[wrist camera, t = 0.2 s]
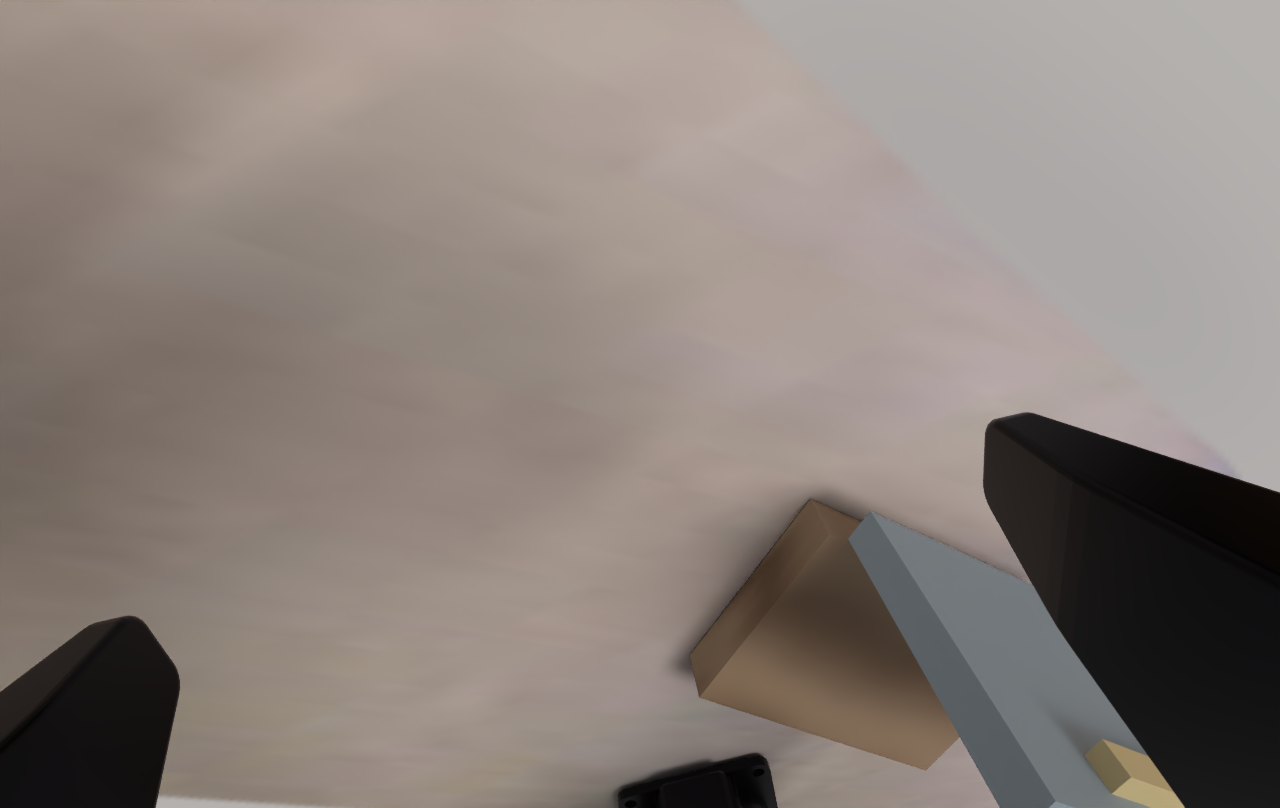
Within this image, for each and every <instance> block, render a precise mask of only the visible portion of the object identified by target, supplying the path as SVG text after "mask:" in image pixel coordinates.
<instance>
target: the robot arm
mask: <svg viewBox="0 0 1280 808" xmlns="http://www.w3.org/2000/svg"><path fill="white" fill-rule="evenodd" d="M983 488H984V493H985V497H986V500H987V503H988V505H989V507H990V509H991V511H992V513H993V514H994V516H995V518H996V520H997V522H998V523H999V525H1000V527H1001V529H1002V531H1003V532H1004V534H1005V536H1006V538H1007V540H1008V541H1009V543H1010V545H1011V547H1012V549H1013V550H1014V552H1015V554H1016V556H1017V558H1018V559H1019V561H1020V563H1021V565H1022V567H1023V568H1024V570H1025V572H1026V574H1027V576H1028V577H1029V579H1030V581H1031V583H1032V585H1033V586H1034V588H1035V590H1036V592H1037V594H1038V595H1039V597H1040V599H1041V601H1042V603H1043V604H1044V606H1045V608H1046V609H1047V611H1048V613H1049V615H1050V616H1051V618H1052V620H1053V621H1054V623H1055V625H1056V626H1057V628H1058V629H1059V631H1060V632H1061V634H1062V635H1063V637H1064V638H1065V640H1066V641H1067V643H1068V644H1069V646H1070V647H1071V648H1072V650H1073V651H1074V653H1075V654H1076V655H1077V657H1078V658H1079V660H1080V661H1081V662H1082V664H1083V665H1084V667H1085V668H1086V669H1087V671H1088V672H1089V674H1090V675H1091V677H1092V678H1093V679H1094V681H1095V682H1096V684H1097V685H1098V686H1099V688H1100V689H1101V691H1102V692H1103V693H1104V695H1105V696H1106V698H1107V699H1108V700H1109V702H1110V703H1111V705H1112V706H1113V707H1114V709H1115V710H1116V712H1117V713H1118V714H1119V716H1120V717H1121V719H1122V720H1123V721H1124V723H1125V724H1126V726H1127V727H1128V728H1129V730H1130V731H1131V733H1132V734H1133V736H1134V737H1135V738H1136V740H1137V741H1138V743H1139V744H1140V745H1141V747H1142V748H1143V750H1144V751H1145V752H1146V754H1147V755H1148V757H1149V758H1150V759H1151V761H1152V762H1153V764H1154V765H1155V766H1156V768H1157V769H1158V771H1159V772H1160V773H1161V775H1162V776H1163V778H1164V779H1165V780H1166V782H1167V783H1168V785H1169V786H1170V787H1171V789H1172V790H1173V792H1174V793H1175V794H1176V796H1177V797H1178V799H1179V800H1180V802H1181V803H1182V804H1183V806H1184V807H1185V808H1280V492H1276V491H1273V490H1270V489H1267V488H1264V487H1261V486H1258V485H1254V484H1252V483H1248V482H1245V481H1242V480H1239V479H1236V478H1233V477H1230V476H1227V475H1224V474H1220V473H1217V472H1214V471H1211V470H1208V469H1205V468H1202V467H1199V466H1196V465H1193V464H1189V463H1186V462H1183V461H1180V460H1177V459H1174V458H1171V457H1168V456H1165V455H1161V454H1158V453H1155V452H1152V451H1149V450H1146V449H1143V448H1140V447H1137V446H1134V445H1130V444H1127V443H1124V442H1121V441H1118V440H1115V439H1112V438H1109V437H1106V436H1102V435H1099V434H1096V433H1093V432H1090V431H1087V430H1084V429H1081V428H1078V427H1074V426H1071V425H1068V424H1065V423H1062V422H1059V421H1056V420H1053V419H1050V418H1047V417H1043V416H1040V415H1037V414H1034V413H1029V412H1025V413H1020V414H1015V415H1011V416H1006V417H1002V418H998V419H994V420H992V421H991V422H990V423H989V424H988V426H987V428H986V432H985V447H984V472H983ZM179 691H180V679H179V674H178V671H177V668H176V666H175V665H174V663H173V662H172V660H171V659H170V658H169V656H168V655H167V653H166V652H165V650H164V649H163V648H162V646H161V645H160V643H159V642H158V641H157V639H156V638H155V636H154V635H153V633H152V632H151V631H150V629H149V628H148V626H147V625H146V624H145V623H144V622H143V621H142V620H141V619H139V618H137V617H135V616H123V617H119V618H114V619H110V620H105V621H101V622H97V623H94V624H92V625H89V626H88V627H86V628H84V629H83V630H82V631H80V632H79V633H78V634H76V635H75V636H74V637H73V638H71V639H70V640H69V641H67V642H66V643H65V644H63V645H62V646H61V647H59V648H58V649H57V650H55V651H54V652H53V653H51V654H50V655H49V656H47V657H46V658H45V659H43V660H42V661H41V662H39V663H38V664H37V665H35V666H34V667H33V668H31V669H30V670H29V671H27V672H26V673H25V674H23V675H22V676H21V677H19V678H18V679H17V680H16V681H14V682H13V683H12V684H10V685H9V686H8V687H6V688H5V689H4V690H2V691H1V692H0V808H155V807H156V802H157V798H158V793H159V789H160V784H161V779H162V774H163V769H164V765H165V760H166V755H167V750H168V745H169V740H170V736H171V731H172V726H173V721H174V716H175V712H176V707H177V702H178V697H179ZM618 802H619V808H778V807H777V802H776V797H775V792H774V787H773V782H772V776H771V771H770V768H769V764H768V761H767V759H766V758H764V757H760V756H757V757H752V758H748V759H744V760H740V761H736V762H732V763H728V764H723V765H719V766H715V767H711V768H707V769H703V770H699V771H695V772H691V773H687V774H683V775H679V776H675V777H671V778H667V779H663V780H659V781H655V782H651V783H647V784H642V785H638V786H634V787H630V788H627V789H624V790H622V791H621V792H620V793H619V795H618Z"/></svg>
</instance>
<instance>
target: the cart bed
mask: <svg viewBox="0 0 1280 808" xmlns="http://www.w3.org/2000/svg"><path fill="white" fill-rule="evenodd" d="M860 523H861V521H859V520H856V519H854V518H852V517H850V516H847V515H845V514H843V513H841V512H839V511H836V510H834V509H832V508H830V507H827V506H825V505H823V504H821V503H818V502H816V501H814V500H812V499H810V500H809V501H808V503H807V504H806V505H805V506H804V508H803V509H802V510H801V512H800V513H799V514H798V516H797V517H796V518H795V519H794V521H793V522H792V523H791V525H790V526H789V527H788V529H787V530H786V531H785V532H784V534H783V535H782V536H781V538H780V539H779V540H778V541H777V543H776V544H775V545H774V547H773V548H772V549H771V551H770V552H769V553H768V554H767V556H766V557H765V558H764V560H763V561H762V562H761V564H760V565H759V566H758V567H757V569H756V570H755V571H754V573H753V574H752V575H751V577H750V578H749V579H748V580H747V582H746V583H745V584H744V586H743V587H742V588H741V589H740V591H739V592H738V593H737V595H736V596H735V597H734V599H733V600H732V601H731V602H730V604H729V605H728V606H727V608H726V609H725V610H724V612H723V613H722V614H721V615H720V617H719V618H718V619H717V621H716V622H715V623H714V625H713V626H712V627H711V628H710V630H709V631H708V632H707V634H706V635H705V636H704V638H703V639H702V640H701V641H700V643H699V644H698V645H697V647H696V648H695V649H694V650H693V652H692V653H691V654H690V660H691V664H692V668H693V672H694V677H695V681H696V685H697V689H698V694H699V697H700V698H703V699H706V700H709V701H712V702H715V703H718V704H721V705H724V706H728V707H731V708H734V709H737V710H740V711H743V712H746V713H749V714H752V715H755V716H759V717H762V718H765V719H768V720H771V721H774V722H777V723H780V724H783V725H786V726H790V727H793V728H796V729H799V730H802V731H805V732H808V733H811V734H814V735H817V736H821V737H824V738H827V739H830V740H833V741H836V742H839V743H842V744H845V745H848V746H852V747H855V748H858V749H861V750H864V751H867V752H870V753H873V754H876V755H879V756H883V757H886V758H889V759H892V760H895V761H898V762H901V763H904V764H907V765H910V766H914V767H917V768H920V769H923V770H927V769H928V768H929V767H930V766H931V765H932V764H933V763H934V762H935V761H936V760H937V759H938V758H939V757H940V756H941V755H942V754H943V753H944V752H945V751H946V750H947V749H948V748H949V747H950V746H951V745H952V744H953V743H954V742H955V741H956V740H957V739H958V738H959V737H960V736H959V734H958V733H957V731H956V729H955V727H954V725H953V724H952V722H951V720H950V718H949V717H948V715H947V713H946V711H945V710H944V708H943V706H942V704H941V702H940V701H939V699H938V697H937V695H936V694H935V692H934V690H933V688H932V687H931V685H930V683H929V681H928V680H927V678H926V676H925V674H924V672H923V671H922V669H921V667H920V665H919V664H918V662H917V660H916V658H915V657H914V655H913V653H912V651H911V649H910V648H909V646H908V644H907V642H906V641H905V639H904V637H903V635H902V634H901V632H900V630H899V628H898V626H897V625H896V623H895V621H894V619H893V618H892V616H891V614H890V612H889V611H888V609H887V607H886V605H885V603H884V602H883V600H882V598H881V596H880V595H879V593H878V591H877V589H876V588H875V586H874V584H873V582H872V580H871V579H870V577H869V575H868V573H867V572H866V570H865V568H864V566H863V565H862V563H861V561H860V559H859V558H858V556H857V554H856V552H855V550H854V549H853V547H852V545H851V543H850V542H849V540H848V538H849V537H850V536H851V534H852V533H853V532H854V531H855V529H856V528H857V527H858V526H859V525H860Z"/></svg>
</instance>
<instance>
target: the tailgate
mask: <svg viewBox="0 0 1280 808" xmlns="http://www.w3.org/2000/svg"><path fill="white" fill-rule="evenodd" d="M848 540H849V542H850V543H851V545H852V547H853V549H854V550H855V552H856V554H857V556H858V558H859V559H860V561H861V563H862V565H863V566H864V568H865V570H866V572H867V573H868V575H869V577H870V579H871V580H872V582H873V584H874V586H875V588H876V589H877V591H878V593H879V595H880V596H881V598H882V600H883V602H884V603H885V605H886V607H887V609H888V611H889V612H890V614H891V616H892V618H893V619H894V621H895V623H896V625H897V626H898V628H899V630H900V632H901V634H902V635H903V637H904V639H905V641H906V642H907V644H908V646H909V648H910V649H911V651H912V653H913V655H914V657H915V658H916V660H917V662H918V664H919V665H920V667H921V669H922V671H923V672H924V674H925V676H926V678H927V680H928V681H929V683H930V685H931V687H932V688H933V690H934V692H935V694H936V695H937V697H938V699H939V701H940V702H941V704H942V706H943V708H944V710H945V711H946V713H947V715H948V717H949V718H950V720H951V722H952V724H953V725H954V727H955V729H956V731H957V733H958V734H959V736H960V738H961V740H962V741H963V743H964V745H965V747H966V748H967V750H968V752H969V754H970V756H971V757H972V759H973V761H974V763H975V764H976V766H977V768H978V770H979V771H980V773H981V775H982V777H983V779H984V780H985V782H986V784H987V786H988V787H989V789H990V791H991V793H992V794H993V796H994V798H995V800H996V802H997V803H998V805H999V807H1000V808H1185V807H1184V806H1183V804H1182V803H1181V802H1180V800H1179V799H1178V797H1177V796H1176V794H1175V793H1174V792H1173V790H1172V789H1171V787H1170V786H1169V785H1168V783H1167V782H1166V780H1165V779H1164V778H1163V776H1162V775H1161V773H1160V772H1159V771H1158V769H1157V768H1156V766H1155V765H1154V764H1153V762H1152V761H1151V759H1150V758H1149V757H1148V755H1147V754H1146V752H1145V751H1144V750H1143V748H1142V747H1141V745H1140V744H1139V743H1138V741H1137V740H1136V738H1135V737H1134V736H1133V734H1132V733H1131V731H1130V730H1129V728H1128V727H1127V726H1126V724H1125V723H1124V721H1123V720H1122V719H1121V717H1120V716H1119V714H1118V713H1117V712H1116V710H1115V709H1114V707H1113V706H1112V705H1111V703H1110V702H1109V700H1108V699H1107V698H1106V696H1105V695H1104V693H1103V692H1102V691H1101V689H1100V688H1099V686H1098V685H1097V684H1096V682H1095V681H1094V679H1093V678H1092V677H1091V675H1090V674H1089V672H1088V671H1087V669H1086V668H1085V667H1084V665H1083V664H1082V662H1081V661H1080V660H1079V658H1078V657H1077V655H1076V654H1075V653H1074V651H1073V650H1072V648H1071V647H1070V646H1069V644H1068V643H1067V641H1066V640H1065V638H1064V637H1063V635H1062V634H1061V632H1060V631H1059V629H1058V628H1057V626H1056V625H1055V623H1054V621H1053V620H1052V618H1051V616H1050V615H1049V613H1048V611H1047V609H1046V608H1045V606H1044V604H1043V603H1042V601H1041V599H1040V597H1039V595H1038V594H1037V592H1036V590H1035V588H1034V586H1033V585H1032V584H1030V583H1028V582H1025V581H1023V580H1021V579H1019V578H1017V577H1014V576H1012V575H1010V574H1008V573H1006V572H1003V571H1001V570H999V569H997V568H995V567H992V566H990V565H988V564H986V563H984V562H981V561H979V560H977V559H975V558H973V557H970V556H968V555H966V554H964V553H962V552H959V551H957V550H955V549H953V548H951V547H949V546H946V545H944V544H942V543H940V542H938V541H935V540H933V539H931V538H929V537H927V536H924V535H922V534H920V533H918V532H916V531H913V530H911V529H909V528H907V527H905V526H902V525H900V524H898V523H896V522H894V521H891V520H889V519H887V518H885V517H883V516H880V515H878V514H876V513H874V512H872V511H870V512H869V513H868V515H867V516H866V517H865V518H864V520H863V521H862V522H861V523H860V525H859V526H858V527H857V528H856V529H855V531H854V532H853V533H852V534H851V536H850V537H849V538H848Z"/></svg>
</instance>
